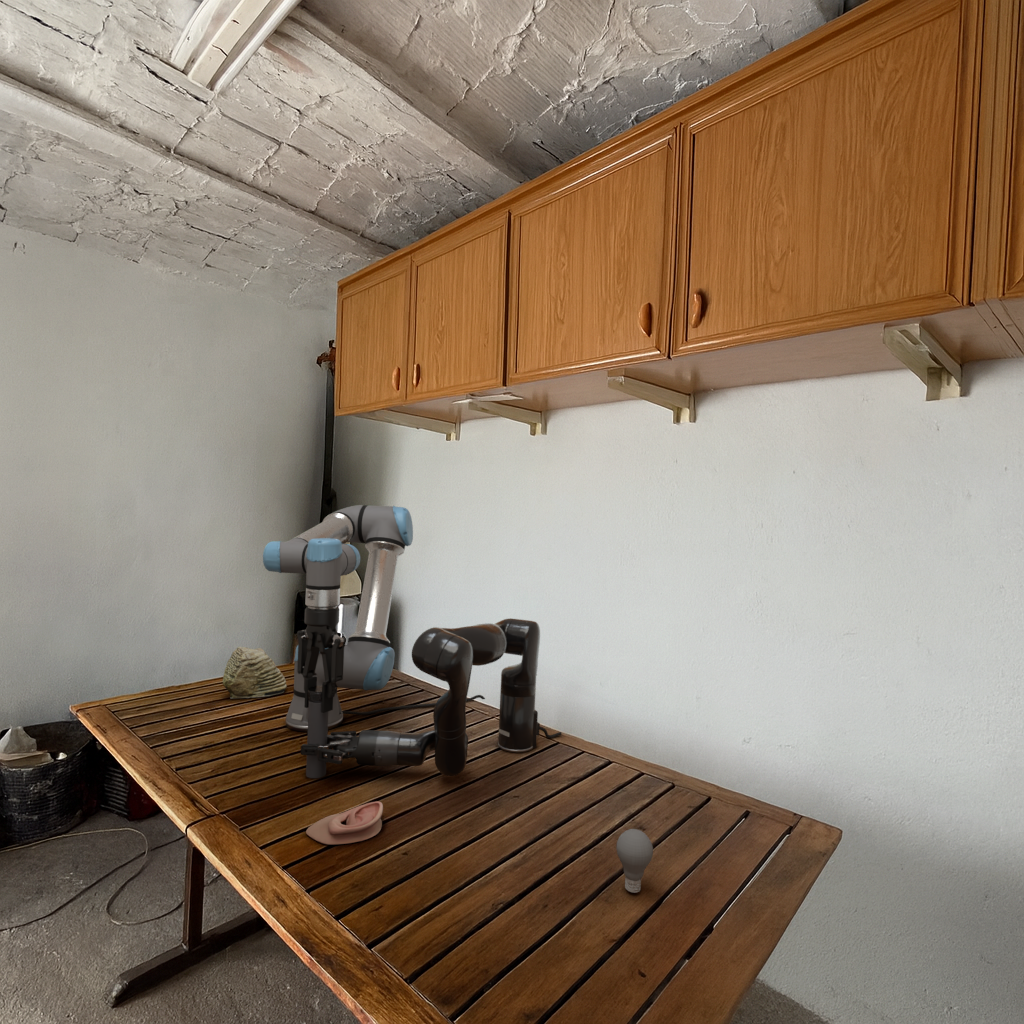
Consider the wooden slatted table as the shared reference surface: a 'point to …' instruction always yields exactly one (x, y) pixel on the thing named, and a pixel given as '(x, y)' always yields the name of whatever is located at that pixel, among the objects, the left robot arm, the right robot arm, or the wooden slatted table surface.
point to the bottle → (316, 738)
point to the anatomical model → (348, 825)
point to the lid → (315, 693)
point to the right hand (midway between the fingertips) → (305, 745)
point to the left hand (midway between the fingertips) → (318, 708)
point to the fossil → (252, 674)
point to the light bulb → (634, 857)
